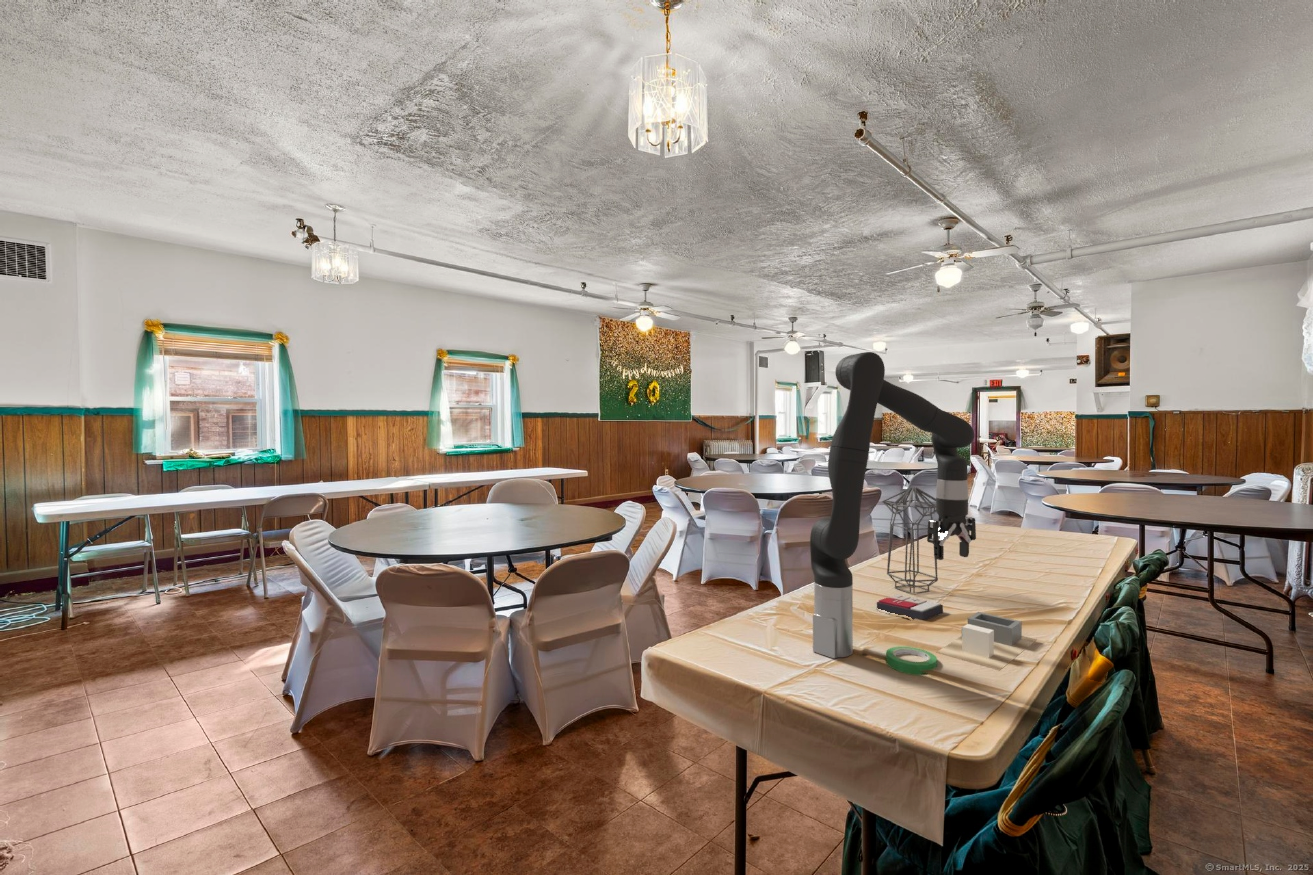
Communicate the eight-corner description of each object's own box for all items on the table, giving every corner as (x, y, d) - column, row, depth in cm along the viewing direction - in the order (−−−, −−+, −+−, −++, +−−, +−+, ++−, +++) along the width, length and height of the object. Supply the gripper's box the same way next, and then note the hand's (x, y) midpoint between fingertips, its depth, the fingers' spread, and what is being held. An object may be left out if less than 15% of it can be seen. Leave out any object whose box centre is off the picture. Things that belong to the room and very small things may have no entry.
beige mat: (999, 674, 131) (999, 670, 131) (936, 656, 142) (936, 652, 142) (1036, 643, 149) (1036, 639, 149) (978, 628, 160) (978, 625, 160)
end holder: (1011, 646, 145) (1011, 628, 145) (967, 635, 153) (967, 618, 152) (1021, 638, 150) (1021, 621, 150) (978, 628, 157) (978, 611, 157)
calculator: (896, 592, 182) (943, 602, 170) (897, 606, 182) (944, 616, 170) (875, 599, 176) (922, 609, 164) (876, 613, 176) (923, 625, 164)
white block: (988, 658, 138) (989, 633, 138) (960, 650, 143) (961, 626, 142) (993, 654, 140) (993, 630, 140) (966, 647, 145) (966, 623, 144)
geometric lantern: (877, 585, 202) (878, 485, 201) (914, 582, 206) (915, 484, 206) (910, 598, 187) (911, 490, 186) (949, 594, 191) (950, 488, 191)
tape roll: (894, 652, 145) (894, 642, 145) (942, 664, 138) (942, 653, 138) (879, 667, 137) (879, 656, 136) (929, 680, 130) (929, 669, 129)
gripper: (942, 500, 146) (942, 563, 147) (984, 497, 151) (984, 558, 151) (919, 496, 153) (919, 557, 154) (960, 493, 158) (960, 552, 158)
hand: (951, 558), depth 152 cm, fingers open, 8 cm apart
